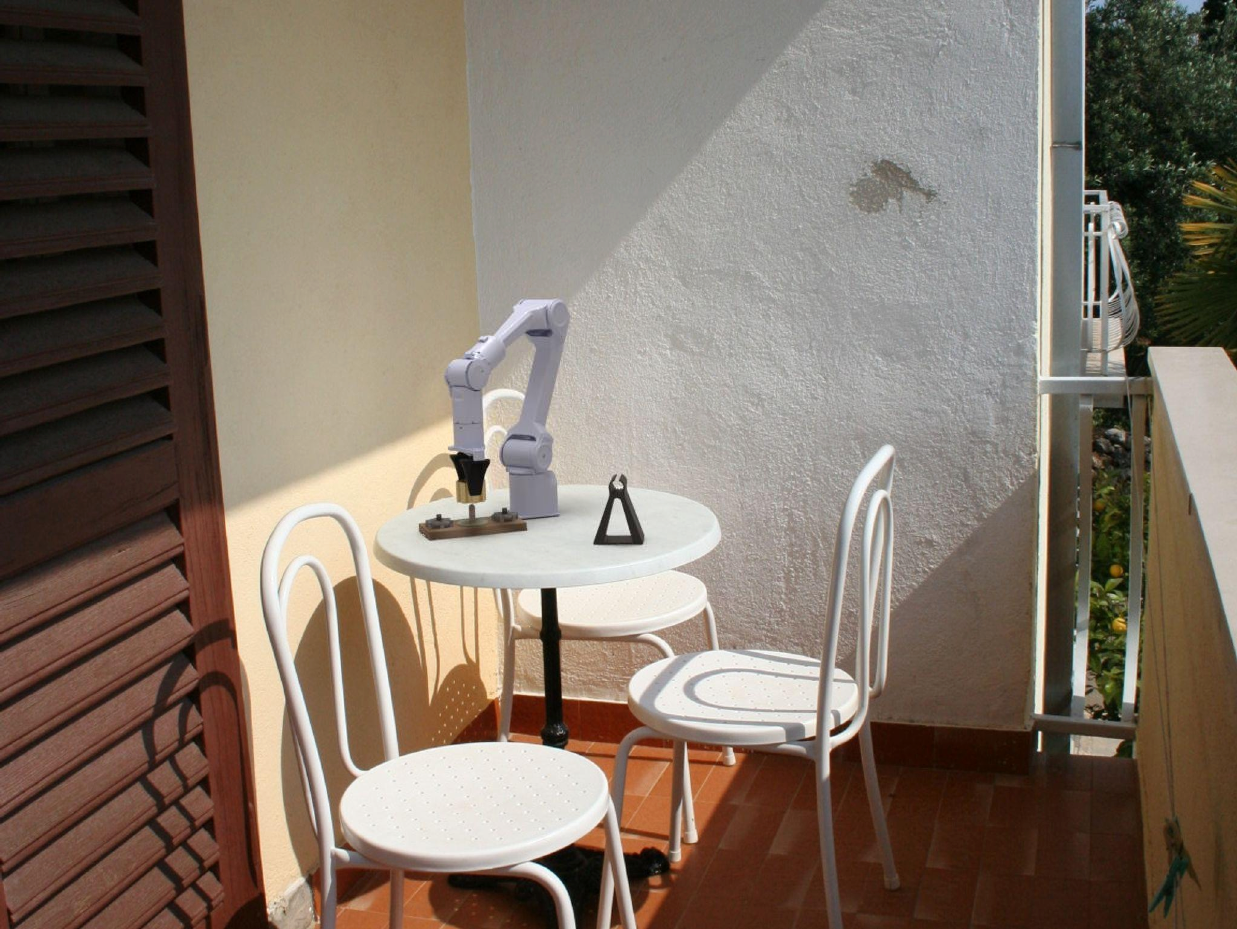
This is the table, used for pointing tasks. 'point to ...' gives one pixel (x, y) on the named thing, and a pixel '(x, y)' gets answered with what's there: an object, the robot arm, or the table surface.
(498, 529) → the gear board
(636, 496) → the table surface
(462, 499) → the brass gear
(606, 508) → the black clip stand
